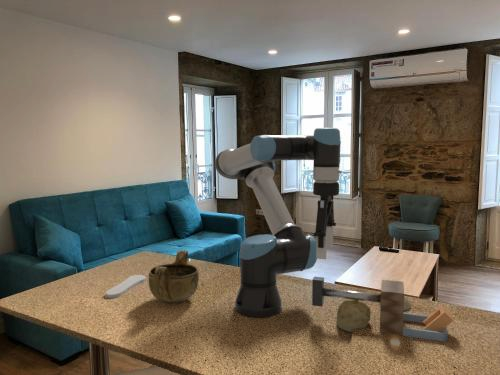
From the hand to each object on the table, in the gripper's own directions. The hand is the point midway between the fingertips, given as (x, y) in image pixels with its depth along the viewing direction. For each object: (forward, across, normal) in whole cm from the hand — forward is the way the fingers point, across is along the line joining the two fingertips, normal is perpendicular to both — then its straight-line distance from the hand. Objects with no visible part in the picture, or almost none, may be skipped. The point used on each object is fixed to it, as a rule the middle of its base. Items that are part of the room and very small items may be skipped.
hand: (324, 252), depth 121 cm
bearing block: (+21, 0, -19) cm, 29 cm away
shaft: (+16, 0, -7) cm, 18 cm away
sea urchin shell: (+22, +16, -20) cm, 34 cm away
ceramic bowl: (+22, 0, +51) cm, 55 cm away
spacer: (+19, 0, -29) cm, 35 cm away
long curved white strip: (+22, +5, +75) cm, 78 cm away
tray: (+21, 0, -28) cm, 35 cm away
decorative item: (+21, -2, -8) cm, 23 cm away
